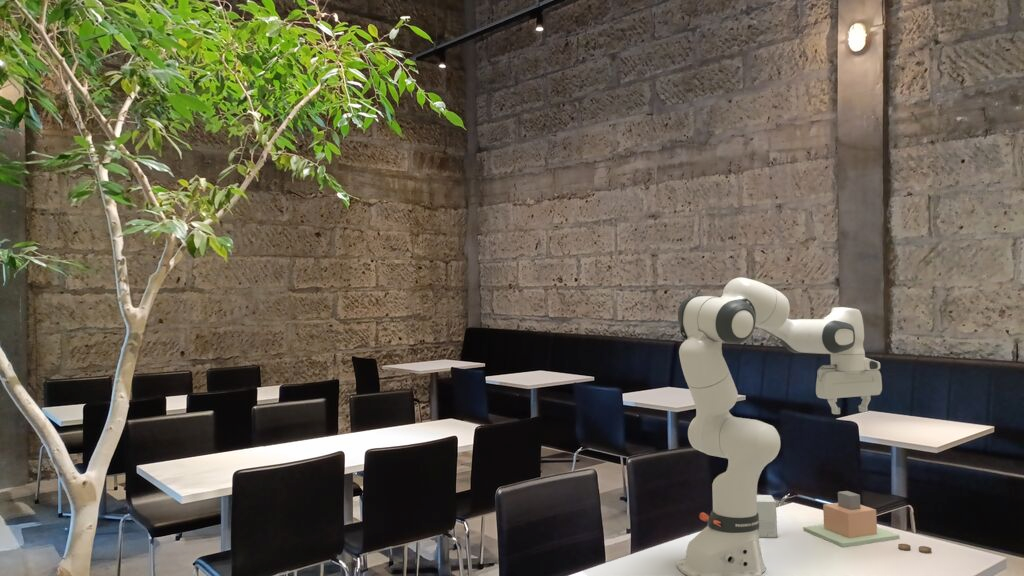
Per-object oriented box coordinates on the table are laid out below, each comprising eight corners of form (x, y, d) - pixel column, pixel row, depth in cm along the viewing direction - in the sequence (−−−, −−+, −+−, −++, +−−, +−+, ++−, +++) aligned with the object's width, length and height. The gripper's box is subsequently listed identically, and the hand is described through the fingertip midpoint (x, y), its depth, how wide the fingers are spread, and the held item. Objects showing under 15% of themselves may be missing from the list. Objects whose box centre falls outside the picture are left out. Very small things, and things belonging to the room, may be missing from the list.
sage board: (842, 547, 201) (842, 543, 201) (803, 530, 216) (803, 527, 216) (899, 538, 207) (899, 535, 207) (857, 523, 222) (857, 519, 222)
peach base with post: (849, 538, 205) (847, 499, 205) (824, 528, 215) (822, 491, 215) (877, 534, 208) (875, 495, 208) (851, 524, 218) (849, 487, 218)
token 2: (926, 555, 194) (926, 550, 194) (916, 551, 197) (916, 547, 197) (934, 553, 195) (933, 548, 195) (924, 549, 198) (923, 545, 198)
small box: (777, 538, 210) (776, 501, 210) (757, 537, 211) (756, 501, 211) (773, 529, 218) (772, 494, 218) (753, 529, 219) (752, 494, 219)
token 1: (906, 552, 196) (906, 547, 196) (896, 549, 199) (895, 544, 199) (913, 550, 198) (912, 545, 198) (902, 547, 200) (902, 542, 200)
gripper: (825, 366, 197) (827, 417, 197) (885, 362, 203) (887, 411, 203) (809, 364, 203) (811, 413, 203) (867, 361, 209) (869, 409, 209)
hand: (849, 412), depth 203 cm, fingers open, 8 cm apart
